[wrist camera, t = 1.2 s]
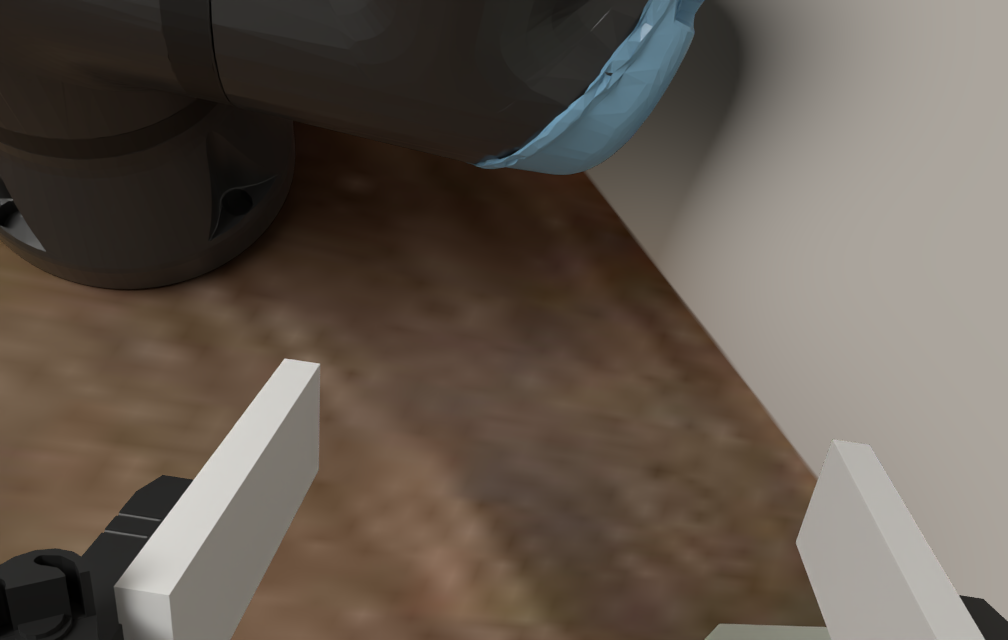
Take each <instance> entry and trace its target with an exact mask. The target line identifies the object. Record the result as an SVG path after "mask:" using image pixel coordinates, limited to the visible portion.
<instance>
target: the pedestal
mask: <svg viewBox="0 0 1008 640" xmlns="http://www.w3.org/2000/svg"><path fill="white" fill-rule="evenodd" d="M705 640H831V637H830V635H829V632H828V629H827V627H808V626H777V625H747V624H718V626H717V627H716V628H715V629H714V630H713V631H712V632H711V633H710V634H709V635H708V636H707V637H706V638H705Z"/></svg>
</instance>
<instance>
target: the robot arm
mask: <svg viewBox="0 0 1008 640" xmlns="http://www.w3.org/2000/svg"><path fill="white" fill-rule="evenodd" d="M704 1H705V0H0V240H1V241H2V242H3V243H4V244H6V245H7V246H8V247H9V248H10V249H11V250H12V251H14V252H15V253H16V254H17V255H19V256H20V257H21V258H23V259H25V260H26V261H28V262H29V263H31V264H32V265H34V266H36V267H38V268H40V269H42V270H44V271H46V272H48V273H50V274H53V275H55V276H58V277H60V278H63V279H66V280H69V281H73V282H76V283H80V284H85V285H89V286H95V287H102V288H112V289H143V288H152V287H159V286H165V285H170V284H174V283H179V282H182V281H186V280H189V279H192V278H195V277H197V276H200V275H203V274H205V273H207V272H210V271H212V270H214V269H216V268H218V267H220V266H222V265H223V264H225V263H227V262H228V261H230V260H232V259H233V258H235V257H236V256H238V255H239V254H240V253H242V252H243V251H244V250H246V249H247V248H248V247H249V246H250V245H252V244H253V243H254V242H255V241H256V240H257V239H258V238H259V237H260V236H261V235H262V234H263V233H264V232H265V230H266V229H267V228H268V227H269V226H270V224H271V223H272V222H273V220H274V219H275V217H276V216H277V214H278V213H279V211H280V209H281V207H282V205H283V203H284V201H285V199H286V197H287V194H288V192H289V189H290V186H291V183H292V179H293V174H294V167H295V139H294V128H293V121H296V122H300V123H304V124H309V125H313V126H317V127H321V128H325V129H329V130H334V131H338V132H342V133H346V134H350V135H355V136H359V137H363V138H367V139H371V140H375V141H380V142H384V143H388V144H392V145H396V146H401V147H405V148H409V149H413V150H417V151H421V152H426V153H430V154H434V155H438V156H442V157H447V158H451V159H455V160H459V161H463V162H467V163H469V164H473V165H475V166H477V167H480V168H484V169H497V168H504V167H508V168H515V169H521V170H528V171H534V172H540V173H547V174H554V175H569V174H575V173H579V172H583V171H586V170H588V169H590V168H593V167H595V166H596V165H598V164H600V163H602V162H604V161H605V160H607V159H608V158H609V157H611V156H612V155H613V154H614V153H615V152H617V151H618V150H619V149H620V148H621V147H622V146H623V145H624V144H625V143H626V142H627V141H628V140H629V139H630V138H631V137H632V136H633V135H634V133H635V132H636V131H637V130H638V129H639V127H640V126H641V125H642V124H643V122H644V121H645V120H646V119H647V117H648V116H649V115H650V113H651V112H652V110H653V109H654V107H655V106H656V105H657V103H658V101H659V100H660V99H661V97H662V95H663V94H664V92H665V91H666V89H667V87H668V86H669V84H670V82H671V81H672V79H673V77H674V75H675V74H676V72H677V70H678V68H679V66H680V64H681V62H682V60H683V58H684V56H685V54H686V52H687V50H688V48H689V46H690V44H691V41H692V39H693V36H694V25H693V24H694V16H695V13H696V11H697V10H698V9H699V7H700V6H701V4H702V3H703V2H704ZM319 409H320V364H318V363H312V362H305V361H298V360H291V359H284V360H283V362H282V363H281V364H280V366H279V367H278V368H277V370H276V371H275V372H274V374H273V375H272V376H271V378H270V379H269V380H268V382H267V383H266V384H265V386H264V387H263V388H262V390H261V391H260V392H259V394H258V395H257V396H256V398H255V399H254V400H253V402H252V403H251V404H250V406H249V407H248V408H247V410H246V411H245V412H244V414H243V415H242V416H241V418H240V419H239V420H238V422H237V423H236V424H235V426H234V427H233V428H232V430H231V431H230V432H229V434H228V435H227V436H226V438H225V439H224V440H223V442H222V443H221V444H220V446H219V447H218V448H217V450H216V451H215V452H214V454H213V455H212V456H211V458H210V459H209V460H208V462H207V463H206V464H205V466H204V467H203V468H202V470H201V471H200V472H199V474H198V475H197V476H196V478H195V479H194V480H192V479H185V478H178V477H172V476H165V475H162V476H161V477H159V478H157V479H156V480H154V481H152V482H151V483H149V484H148V485H146V486H144V487H143V488H141V489H139V490H138V491H136V492H135V494H134V495H133V496H132V497H131V498H130V500H129V501H128V502H127V503H126V504H125V506H124V507H123V508H122V509H121V510H120V512H119V515H118V516H115V517H114V519H113V520H112V521H111V522H110V523H109V525H108V526H107V527H106V528H105V532H104V533H101V534H100V535H99V536H98V538H97V539H96V540H95V541H94V542H93V544H92V545H91V546H90V547H89V548H88V550H87V551H86V552H85V553H84V554H83V555H82V557H81V556H79V555H78V554H76V553H75V552H73V551H67V550H61V549H45V550H35V551H32V552H28V553H25V554H22V555H19V556H16V557H13V558H11V559H10V560H8V561H6V562H4V563H3V564H1V565H0V640H230V639H231V637H232V635H233V633H234V632H235V630H236V628H237V626H238V624H239V622H240V620H241V618H242V616H243V614H244V612H245V610H246V608H247V607H248V605H249V603H250V601H251V599H252V597H253V595H254V593H255V591H256V589H257V587H258V585H259V583H260V582H261V580H262V578H263V576H264V574H265V572H266V570H267V568H268V566H269V564H270V562H271V560H272V558H273V557H274V555H275V553H276V551H277V549H278V547H279V545H280V543H281V541H282V539H283V537H284V535H285V533H286V532H287V530H288V528H289V526H290V524H291V522H292V520H293V518H294V516H295V514H296V512H297V510H298V508H299V506H300V505H301V503H302V501H303V499H304V497H305V495H306V493H307V491H308V489H309V487H310V485H311V483H312V481H313V480H314V478H315V476H316V474H317V472H318V470H319ZM796 544H797V547H798V550H799V553H800V555H801V558H802V561H803V564H804V566H805V569H806V572H807V574H808V577H809V580H810V583H811V585H812V588H813V591H814V594H815V596H816V599H817V602H818V605H819V607H820V610H821V613H822V615H823V618H824V621H825V624H826V626H827V629H828V632H829V635H830V637H831V640H1008V621H1006V620H1005V619H1004V618H1003V617H1002V616H1001V615H1000V614H999V613H998V612H997V611H996V610H995V609H994V608H992V607H991V606H990V605H989V604H988V603H987V602H986V601H985V600H984V599H980V598H974V597H967V596H961V595H958V593H957V592H956V590H955V588H954V586H953V585H952V583H951V581H950V580H949V578H948V576H947V575H946V573H945V571H944V570H943V568H942V566H941V565H940V563H939V561H938V559H937V558H936V556H935V554H934V553H933V551H932V550H931V548H930V546H929V544H928V543H927V541H926V539H925V537H924V536H923V534H922V533H921V531H920V529H919V528H918V526H917V524H916V522H915V521H914V519H913V517H912V516H911V514H910V512H909V511H908V509H907V507H906V505H905V504H904V502H903V500H902V499H901V497H900V495H899V494H898V492H897V490H896V489H895V487H894V485H893V484H892V482H891V480H890V478H889V477H888V475H887V473H886V472H885V470H884V468H883V467H882V465H881V463H880V462H879V460H878V458H877V456H876V455H875V453H874V451H873V450H872V448H871V446H870V445H869V444H862V443H855V442H849V441H841V440H835V439H832V441H831V444H830V447H829V450H828V452H827V455H826V458H825V461H824V464H823V467H822V469H821V472H820V475H819V478H818V481H817V484H816V486H815V489H814V492H813V495H812V498H811V500H810V503H809V506H808V509H807V512H806V515H805V517H804V520H803V523H802V526H801V529H800V531H799V534H798V537H797V540H796Z"/></svg>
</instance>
